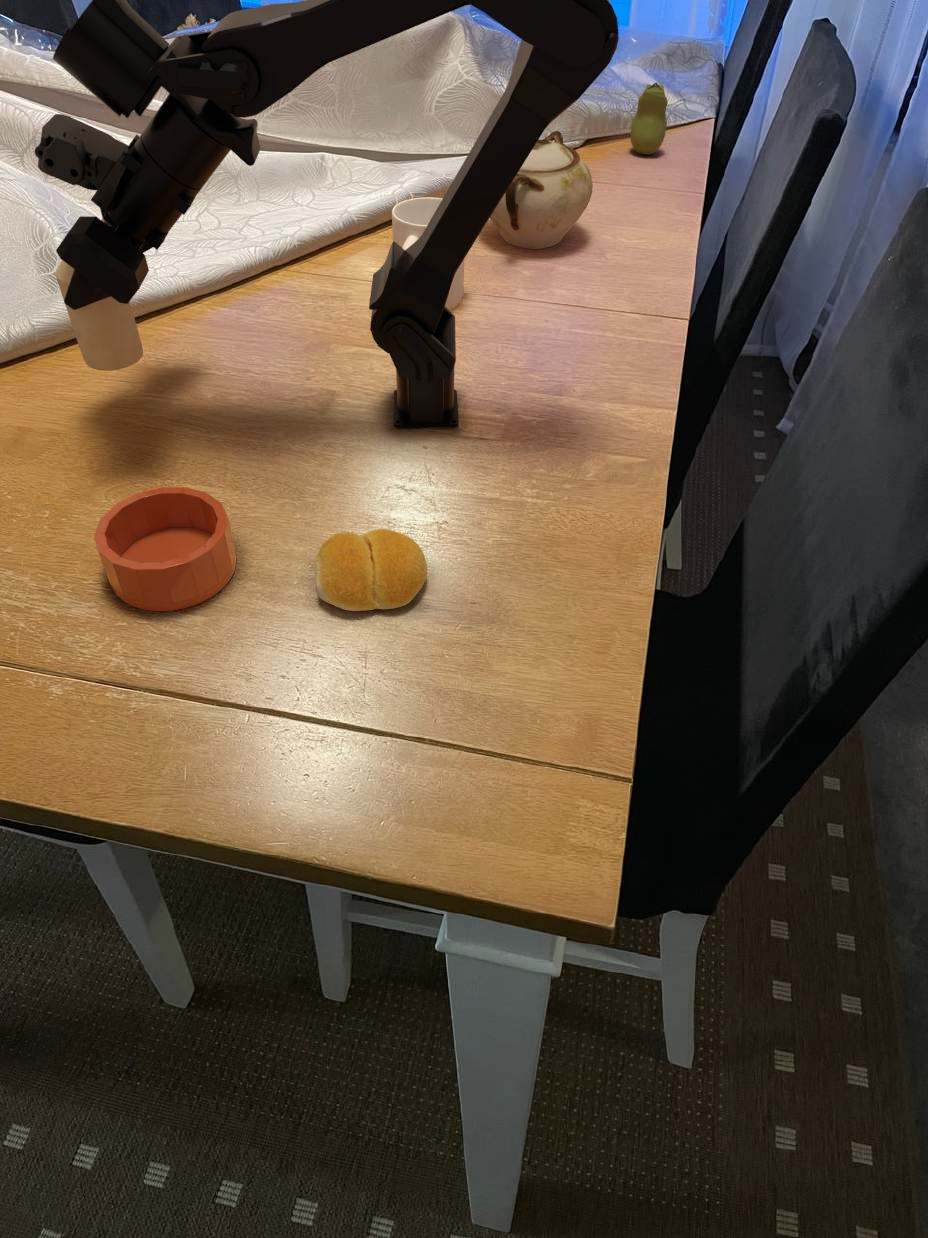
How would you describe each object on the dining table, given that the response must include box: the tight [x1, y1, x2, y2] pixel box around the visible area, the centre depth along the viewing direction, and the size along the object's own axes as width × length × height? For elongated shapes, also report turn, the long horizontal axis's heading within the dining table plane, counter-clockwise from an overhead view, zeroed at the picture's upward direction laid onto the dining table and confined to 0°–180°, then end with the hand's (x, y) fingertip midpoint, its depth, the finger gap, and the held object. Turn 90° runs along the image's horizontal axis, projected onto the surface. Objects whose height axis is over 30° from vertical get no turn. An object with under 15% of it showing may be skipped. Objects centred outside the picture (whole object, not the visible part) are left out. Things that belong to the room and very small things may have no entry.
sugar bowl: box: [489, 130, 594, 250], centre depth 114 cm, size 20×15×15 cm
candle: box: [54, 260, 144, 372], centre depth 80 cm, size 6×6×10 cm
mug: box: [391, 196, 465, 311], centre depth 101 cm, size 12×8×10 cm
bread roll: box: [315, 528, 428, 612], centre depth 70 cm, size 8×9×4 cm
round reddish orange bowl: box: [93, 486, 237, 612], centre depth 70 cm, size 10×10×4 cm
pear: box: [630, 82, 669, 155], centre depth 140 cm, size 6×5×10 cm
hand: (79, 290), depth 79 cm, fingers closed on candle, 5 cm apart
